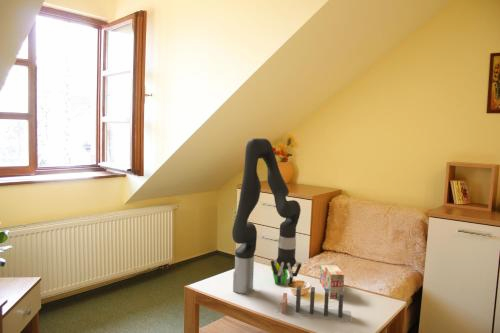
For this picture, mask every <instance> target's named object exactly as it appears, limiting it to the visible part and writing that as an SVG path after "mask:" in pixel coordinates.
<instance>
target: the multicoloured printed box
mask: <svg viewBox="0 0 500 333" xmlns="http://www.w3.org/2000/svg"><path fill="white" fill-rule="evenodd" d="M344 279H345V273H344V272H343V271H342V270H341V269H340V267H338V266H337V265H335V264H334V265H331V264H330V265H329V264H328V265H327V264H326V265H325V264H323V265H322V264H321V265H319V284H320V285H321V286H322V288H323V290H324V291H325V288H326V289H329V299H339V290H343V291H344V283H345V282H344V281H345V280H344Z"/></svg>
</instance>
